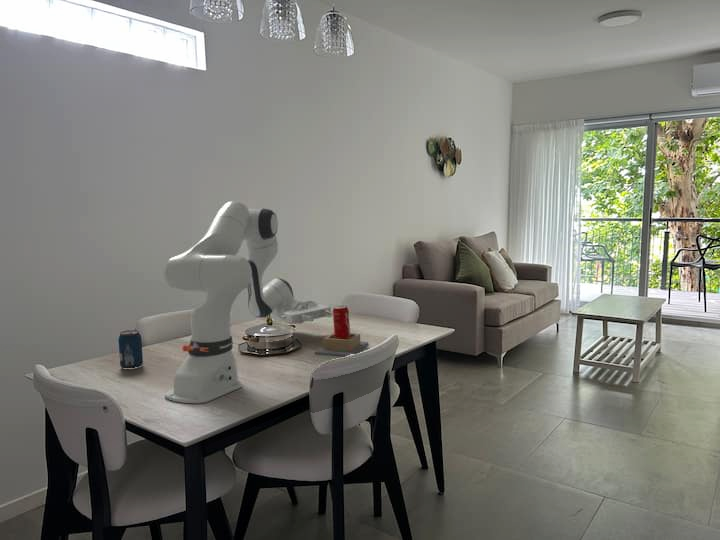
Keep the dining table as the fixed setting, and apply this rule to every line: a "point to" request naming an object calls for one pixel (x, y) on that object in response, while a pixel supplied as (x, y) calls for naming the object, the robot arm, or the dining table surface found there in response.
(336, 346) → the can stand
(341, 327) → the beverage can
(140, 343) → the soda can
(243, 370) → the dining table surface
